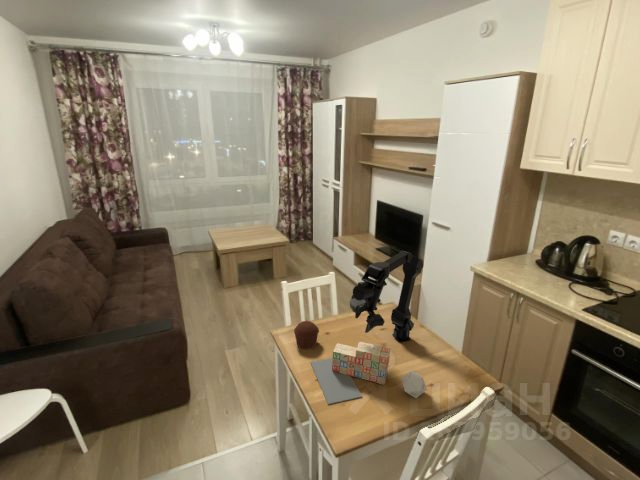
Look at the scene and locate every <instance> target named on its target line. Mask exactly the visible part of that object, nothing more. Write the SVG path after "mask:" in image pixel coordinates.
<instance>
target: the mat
mask: <svg viewBox="0 0 640 480" xmlns="http://www.w3.org/2000/svg"><path fill="white" fill-rule="evenodd" d="M332 361H333V357H329V358H325V359H320V360H315V361H314V360H313V361H309V363H310V365H311V368H312V370H313V372H314V374H315V377H316V379H317V382H318V384H319V387H320V389H321V391H322V394H323V396H324V399H325V401H326V403H327V405H328V406H329V405H333V404H334V405H335V404H338V403H343V402H347V401H352V400H356V399H357V400H358V399H360V398H363V394H361V392H360V390H359V388H358V386H357V384H356V383H355V381H354V380H353V378H352V377H353V376H350V375H347V374H342V373H339V372H335V371H332Z"/></svg>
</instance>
